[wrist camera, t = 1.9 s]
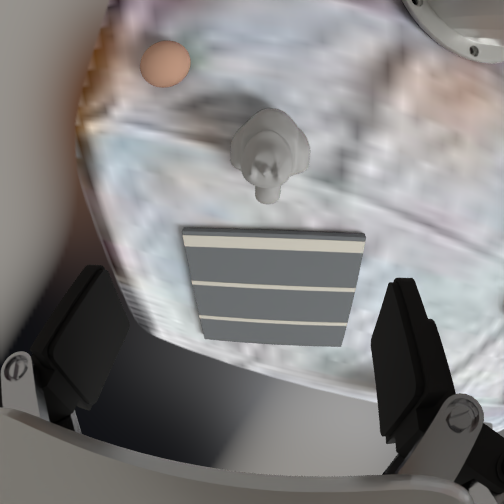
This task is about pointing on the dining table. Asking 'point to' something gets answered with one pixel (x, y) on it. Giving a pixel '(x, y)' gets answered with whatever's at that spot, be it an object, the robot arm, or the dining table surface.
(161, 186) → the dining table surface
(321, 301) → the mat
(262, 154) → the grey lumpy piece
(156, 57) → the ball
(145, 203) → the dining table surface
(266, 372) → the dining table surface
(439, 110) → the dining table surface
